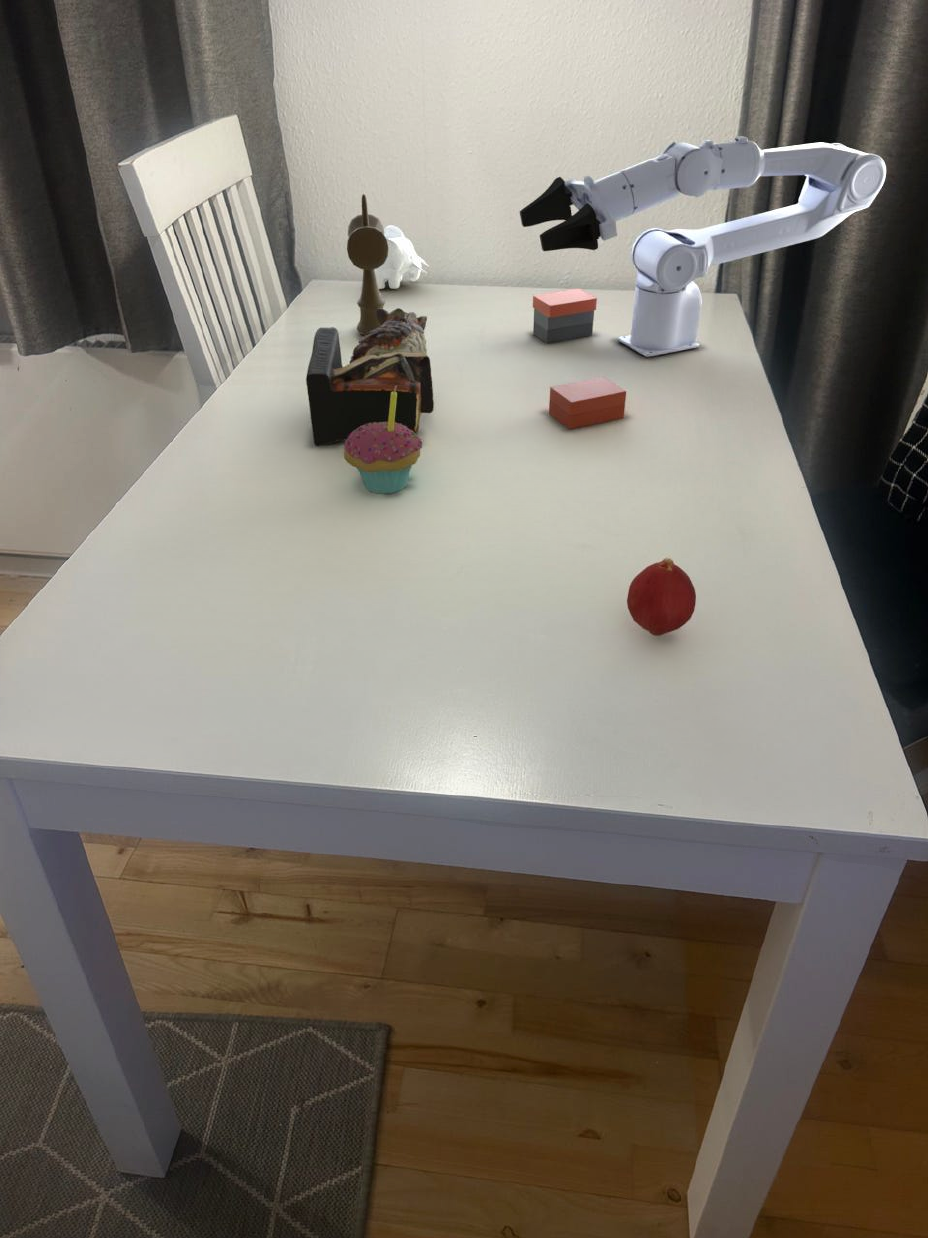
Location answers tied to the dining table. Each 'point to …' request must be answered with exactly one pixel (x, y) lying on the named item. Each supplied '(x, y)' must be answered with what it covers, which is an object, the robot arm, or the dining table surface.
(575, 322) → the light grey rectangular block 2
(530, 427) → the dining table surface
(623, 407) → the red rectangular block
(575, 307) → the flat red block
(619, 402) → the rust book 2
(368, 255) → the kendama
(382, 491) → the cupcake
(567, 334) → the dark grey rectangular block
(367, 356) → the bookend
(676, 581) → the onion
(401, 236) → the elephant figurine
